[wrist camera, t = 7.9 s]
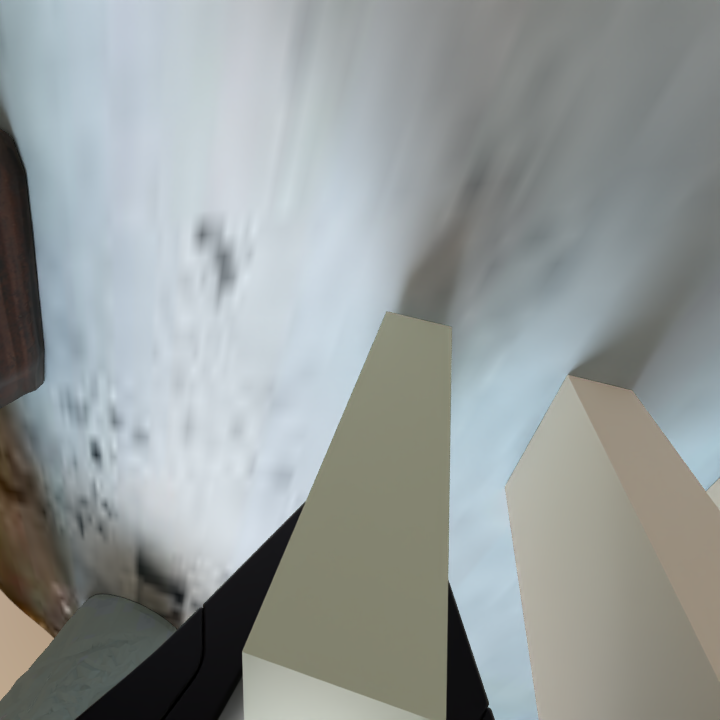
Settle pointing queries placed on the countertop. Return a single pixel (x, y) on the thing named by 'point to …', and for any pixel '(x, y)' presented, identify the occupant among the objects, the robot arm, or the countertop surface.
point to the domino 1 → (367, 553)
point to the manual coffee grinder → (17, 284)
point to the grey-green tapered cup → (86, 659)
